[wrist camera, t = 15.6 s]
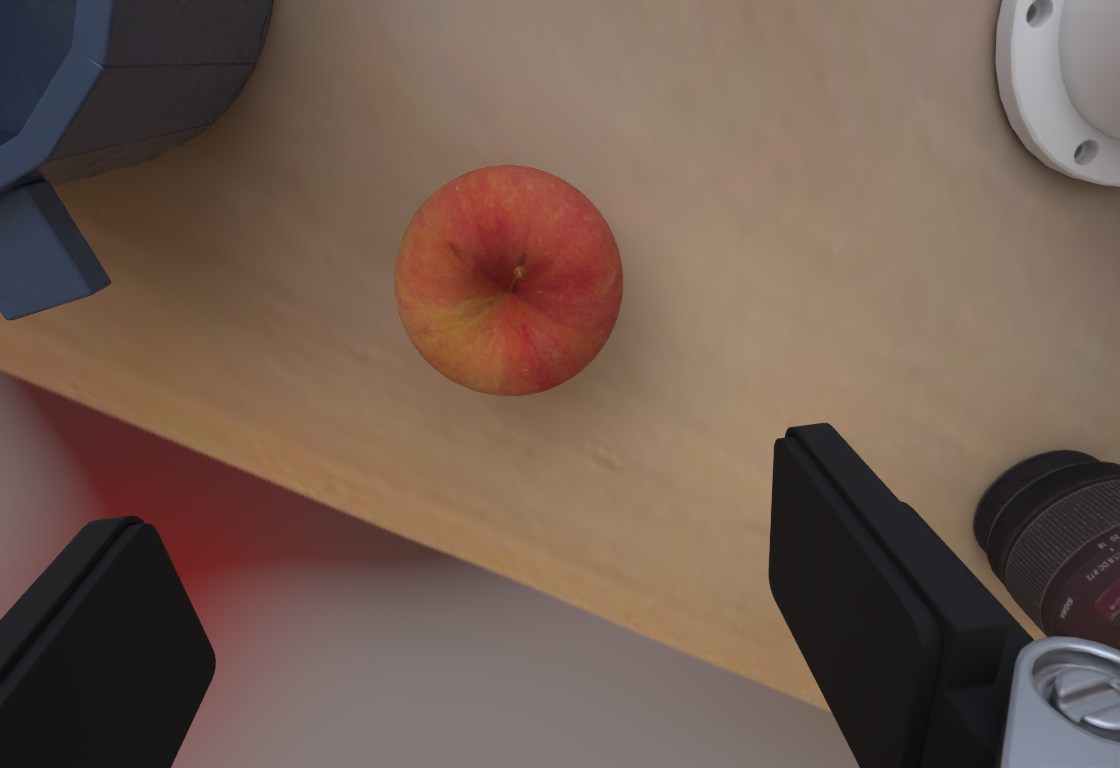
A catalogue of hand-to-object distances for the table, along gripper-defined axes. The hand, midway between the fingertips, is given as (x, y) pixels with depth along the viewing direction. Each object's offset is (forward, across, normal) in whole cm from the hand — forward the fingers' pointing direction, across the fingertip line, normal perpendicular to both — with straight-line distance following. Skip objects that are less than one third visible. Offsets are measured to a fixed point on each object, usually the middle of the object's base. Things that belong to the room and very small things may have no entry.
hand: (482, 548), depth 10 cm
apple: (+17, -1, 0) cm, 17 cm away
